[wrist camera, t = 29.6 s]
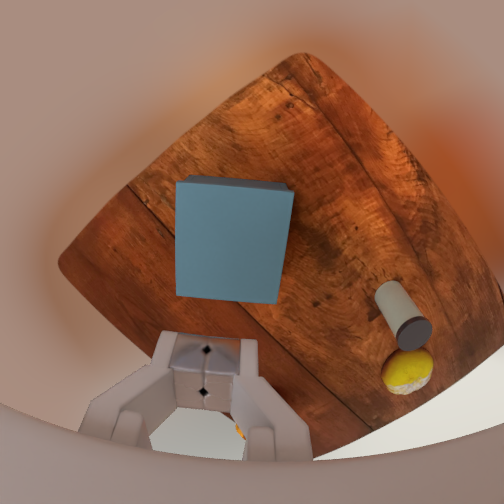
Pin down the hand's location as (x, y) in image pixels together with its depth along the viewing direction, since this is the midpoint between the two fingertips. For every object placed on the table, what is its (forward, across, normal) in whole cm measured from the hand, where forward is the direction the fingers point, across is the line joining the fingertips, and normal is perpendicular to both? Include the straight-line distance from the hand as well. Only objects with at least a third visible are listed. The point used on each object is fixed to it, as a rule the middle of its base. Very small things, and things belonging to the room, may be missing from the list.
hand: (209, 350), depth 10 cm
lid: (+26, 0, +8) cm, 27 cm away
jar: (+33, -26, +17) cm, 45 cm away
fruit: (+33, -35, +33) cm, 59 cm away
